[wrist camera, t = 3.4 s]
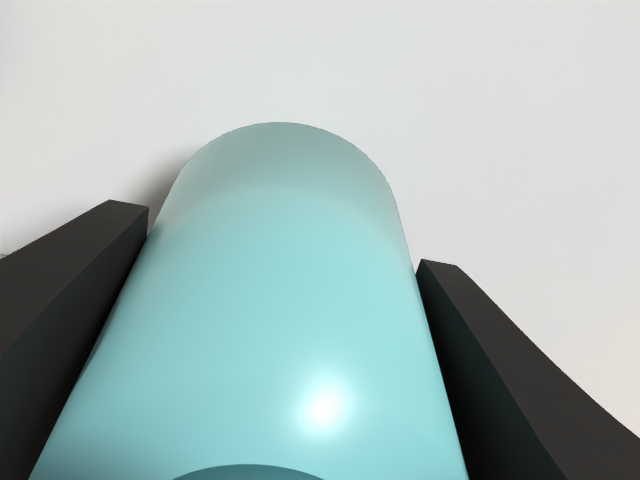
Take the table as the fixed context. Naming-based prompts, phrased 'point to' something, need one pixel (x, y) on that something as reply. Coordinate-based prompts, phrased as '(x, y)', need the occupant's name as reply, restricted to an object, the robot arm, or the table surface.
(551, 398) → the robot arm
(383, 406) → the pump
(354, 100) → the table surface
